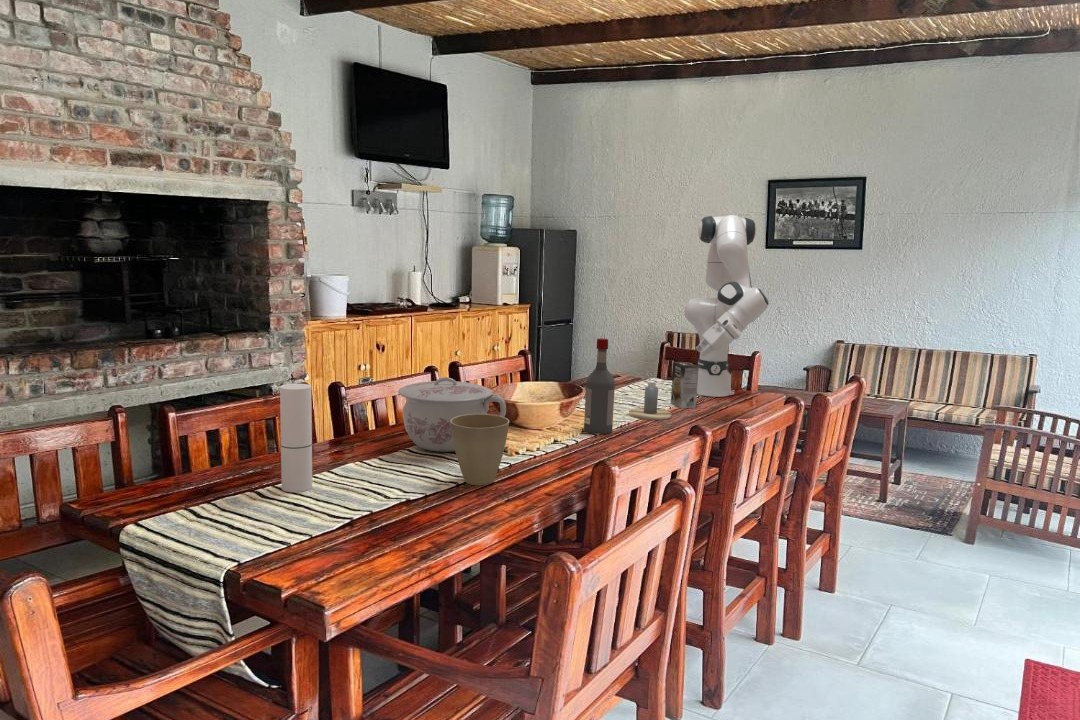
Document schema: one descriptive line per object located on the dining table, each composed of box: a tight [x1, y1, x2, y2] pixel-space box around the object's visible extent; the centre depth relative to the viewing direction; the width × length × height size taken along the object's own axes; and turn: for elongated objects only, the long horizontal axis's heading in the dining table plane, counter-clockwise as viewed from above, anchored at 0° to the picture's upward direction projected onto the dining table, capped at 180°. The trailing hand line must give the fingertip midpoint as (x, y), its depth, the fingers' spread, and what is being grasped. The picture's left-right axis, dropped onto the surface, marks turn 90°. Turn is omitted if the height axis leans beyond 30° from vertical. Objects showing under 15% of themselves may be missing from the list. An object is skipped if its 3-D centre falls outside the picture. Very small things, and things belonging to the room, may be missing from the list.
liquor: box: [583, 337, 616, 435], centre depth 259 cm, size 9×9×30 cm
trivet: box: [628, 407, 673, 421], centre depth 285 cm, size 15×15×1 cm
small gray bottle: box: [643, 381, 659, 414], centre depth 284 cm, size 5×5×11 cm
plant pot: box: [450, 413, 510, 486], centre depth 203 cm, size 15×15×16 cm
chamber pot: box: [397, 376, 507, 453], centre depth 234 cm, size 28×28×21 cm
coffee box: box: [670, 361, 699, 409], centre depth 303 cm, size 9×6×16 cm
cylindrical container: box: [279, 383, 313, 493], centre depth 193 cm, size 7×7×25 cm
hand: (699, 352), depth 283 cm, fingers open, 8 cm apart
